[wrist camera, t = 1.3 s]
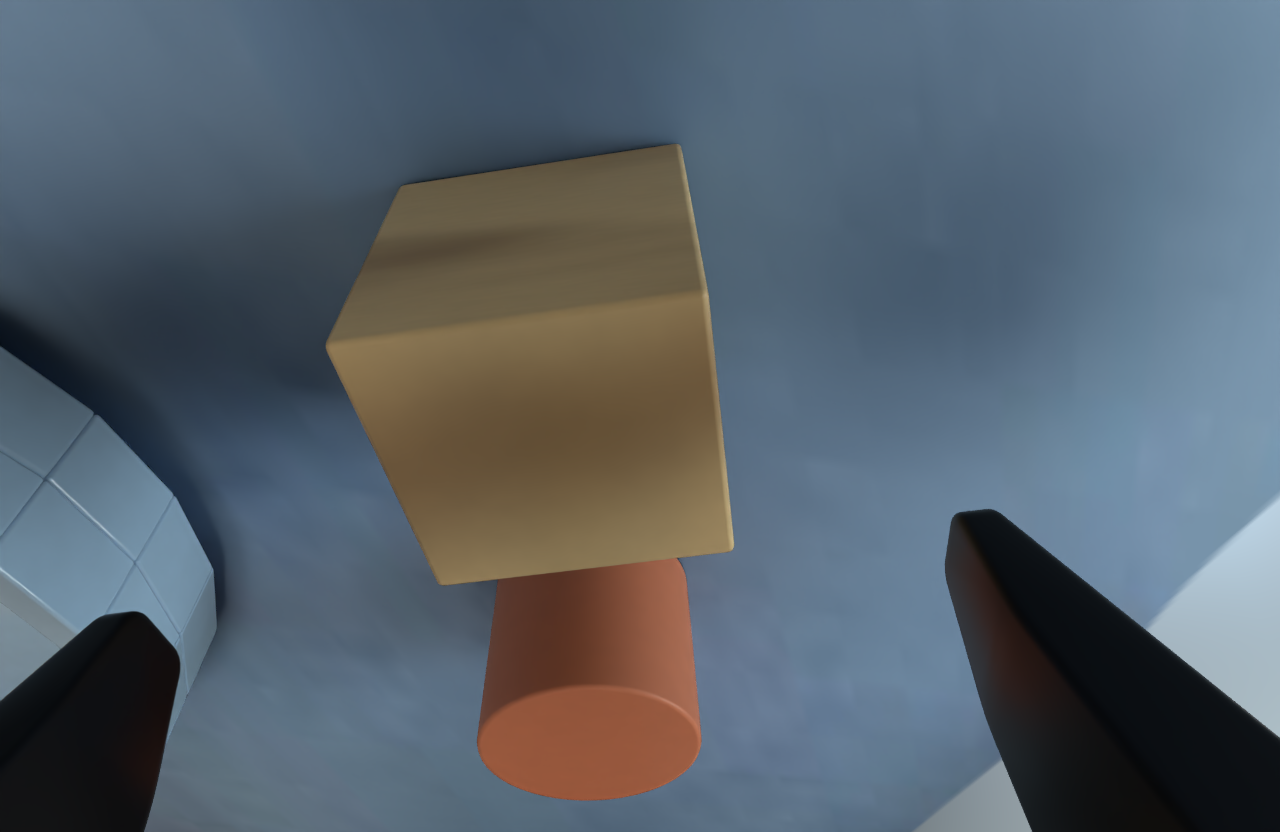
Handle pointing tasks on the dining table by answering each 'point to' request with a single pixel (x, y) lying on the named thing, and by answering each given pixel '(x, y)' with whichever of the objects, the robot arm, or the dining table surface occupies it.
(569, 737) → the terracotta cylinder
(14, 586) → the bowl
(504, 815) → the dining table surface
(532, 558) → the birch cube
